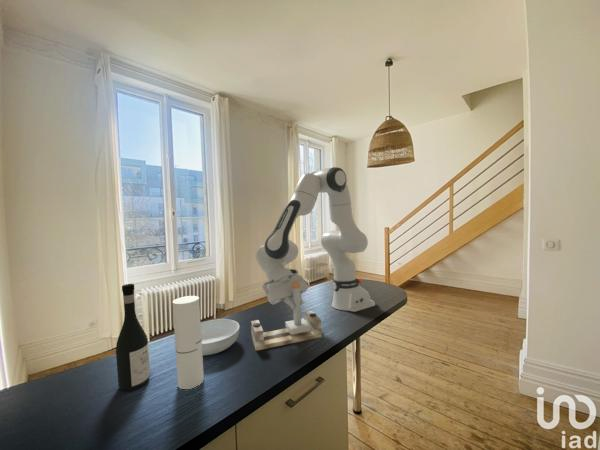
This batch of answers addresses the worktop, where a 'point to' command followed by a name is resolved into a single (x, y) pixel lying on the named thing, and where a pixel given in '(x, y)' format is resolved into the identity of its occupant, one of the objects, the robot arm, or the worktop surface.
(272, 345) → the rail
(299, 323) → the carriage
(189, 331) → the cylindrical container
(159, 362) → the worktop surface
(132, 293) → the wine bottle
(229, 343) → the serving bowl
